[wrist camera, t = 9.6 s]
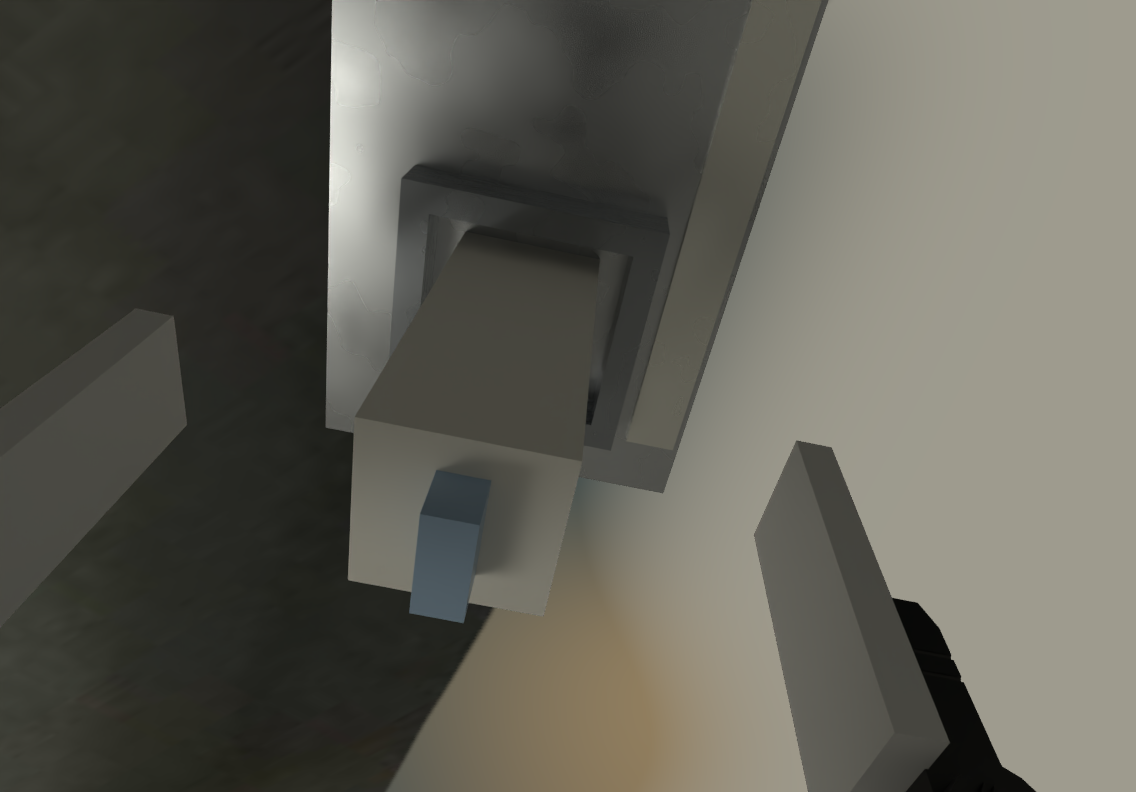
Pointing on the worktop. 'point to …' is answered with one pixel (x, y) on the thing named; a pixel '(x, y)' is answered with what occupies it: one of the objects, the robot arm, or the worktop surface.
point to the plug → (477, 433)
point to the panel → (559, 179)
